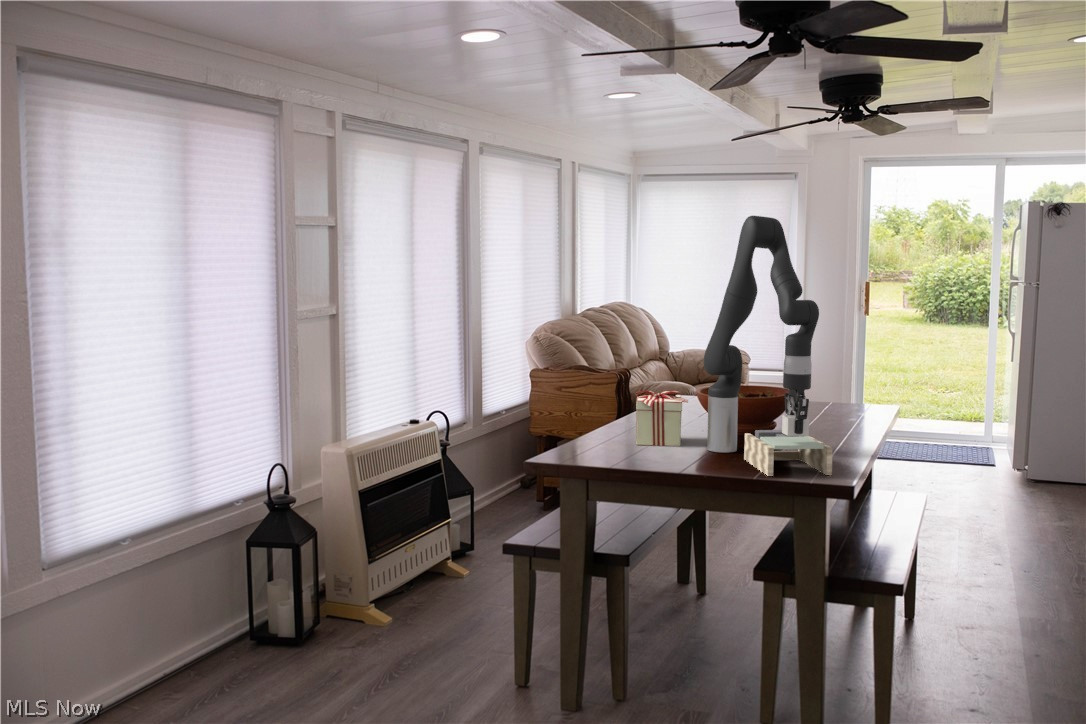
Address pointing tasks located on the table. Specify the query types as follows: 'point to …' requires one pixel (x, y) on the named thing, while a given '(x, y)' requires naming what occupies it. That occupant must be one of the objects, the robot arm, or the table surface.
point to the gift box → (658, 418)
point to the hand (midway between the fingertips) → (795, 431)
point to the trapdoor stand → (785, 455)
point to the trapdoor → (786, 440)
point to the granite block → (793, 426)
